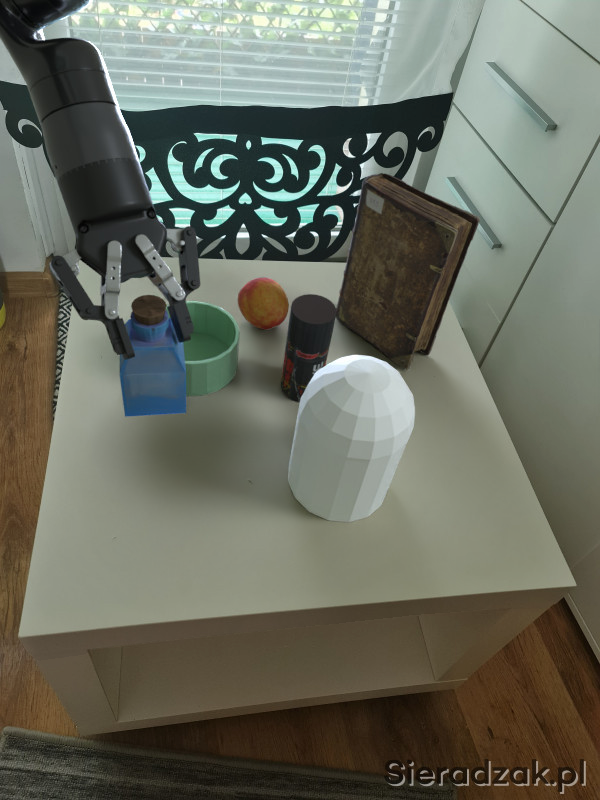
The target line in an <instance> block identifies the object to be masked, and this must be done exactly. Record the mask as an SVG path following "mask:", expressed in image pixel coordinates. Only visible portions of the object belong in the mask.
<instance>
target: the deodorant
mask: <svg viewBox="0 0 600 800" xmlns="http://www.w3.org/2000/svg"><path fill="white" fill-rule="evenodd" d="M336 307H337V306H336V305H335V304H334V303H333V301H332V300H330V299H329V298H327V297H325V296H322V295H319V294H314V293H313V294H312V293H308V294H303V295H299V296H297V297H296V298H294V300H292V302H291V306H290V311H289V317H288V318H289V319H288V326H287V334H286V341H285V348H284V356H283V361H282V369H281V377H280V384H279V385H280V387H279V388H280V391H281V393H282V394H283V395H284V397H286V398H287V399H288V400H291V401H293V402H296V403H300V399H301V397H302V395H303V393H304V391H305V389H306V387H307V385H308V384H309V382H310V381H311V379H312V377H313V376H314V374H315V373H316V371H318V370H320V369H321V368H323V367H324V366H326V365H327V360H328V355H329V351H330V345H331V341H332V337H333V332H334V327H335V323H336V319H337V317H336V313H337V311H336Z"/></svg>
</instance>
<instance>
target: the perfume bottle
mask: <svg viewBox="0 0 600 800" xmlns="http://www.w3.org/2000/svg"><path fill="white" fill-rule="evenodd" d="M167 305H168V304H167V303H166V301H165V299H164V298H161V296H158V295H155V294H144V295H143V294H142V295H140V296H137V297H135V298H134V300H132V302H131V304H130V308H131V310H132V311H131V313H130V318H129V319H128V320H127V321H126V322H125V323H124V324H125V327H126V330H127V332H128V335H129V338H130V341H131V344H132V347H133V350H134V353H135V357H133V358H130V359H126V360H125V359H124V358H123V355H122V354H121V355H119V381H120V388H121V389H120V390H121V396H122V397H121V398H122V404H123V405H122V406H123V412H124V417H125V418H128V417H143V416H144V417H145V416H161V415H179V414H187V396H186V368H185V357H184V346H183V342H182V343H180V342H179V341H178V339H177V336H176V333H175V330H174V327H173V324H172V321H171V318H169V316H168V312H167V311H166V306H167Z"/></svg>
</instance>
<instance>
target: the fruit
mask: <svg viewBox="0 0 600 800" xmlns="http://www.w3.org/2000/svg"><path fill="white" fill-rule="evenodd" d="M237 305H238V308H239V311H240V312H241V315H242V316H243V318H244V319H245V320H246V321H247V322H248V323H249V324H250V325H251V326H253V327H255V328H257V329H261V330H266V331H268V330H271V329H273V328H275V327H278V326H280V325H281V324H282V323H283V322H284V321H285V320H286V318H287V316H288V313H289V307H290V304H289V299H288V296H287V294H286V292H285V290H284V288H283V287H282V285H281V284H280V283H279V282H277V281H276V280H274V279H272V278H269V277H264V276H263V277H262V276H261V277H257V278H253V279H251V280H249V281H248V282H247V283H245V284H244V285H243V286H242V287H241V288H240V290H239V292H238V294H237Z"/></svg>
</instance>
